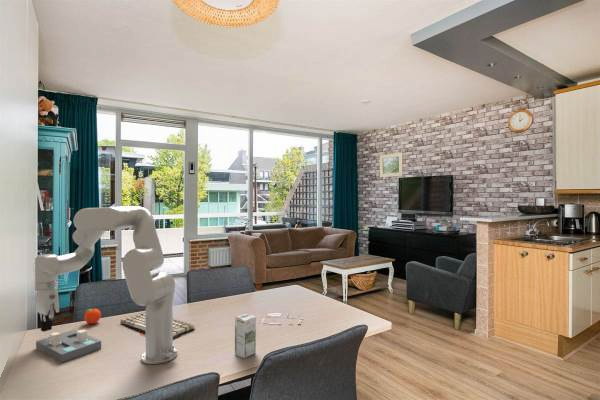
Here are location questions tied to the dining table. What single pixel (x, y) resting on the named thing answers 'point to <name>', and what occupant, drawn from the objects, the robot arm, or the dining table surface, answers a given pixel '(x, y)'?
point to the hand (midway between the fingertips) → (46, 330)
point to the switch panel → (68, 346)
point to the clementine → (92, 316)
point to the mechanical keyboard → (139, 325)
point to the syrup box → (245, 335)
